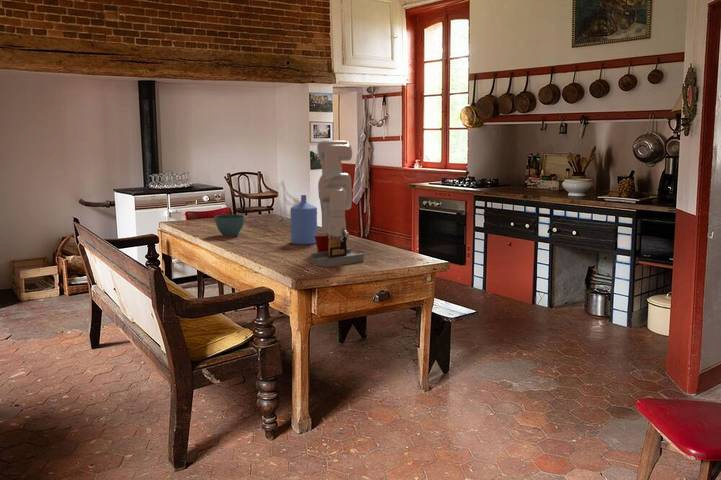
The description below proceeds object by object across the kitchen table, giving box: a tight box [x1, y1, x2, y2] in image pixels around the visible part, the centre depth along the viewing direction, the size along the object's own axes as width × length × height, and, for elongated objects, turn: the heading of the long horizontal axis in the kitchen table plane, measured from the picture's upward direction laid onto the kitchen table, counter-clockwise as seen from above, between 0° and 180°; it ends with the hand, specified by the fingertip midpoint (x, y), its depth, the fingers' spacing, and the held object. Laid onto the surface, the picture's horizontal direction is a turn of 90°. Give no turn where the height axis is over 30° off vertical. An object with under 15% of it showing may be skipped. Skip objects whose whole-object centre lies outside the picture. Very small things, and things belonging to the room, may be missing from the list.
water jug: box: [290, 194, 318, 245], centre depth 386 cm, size 16×16×28 cm
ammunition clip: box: [328, 234, 348, 258], centre depth 330 cm, size 11×2×12 cm, turn 128°
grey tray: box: [310, 247, 365, 268], centre depth 331 cm, size 12×24×5 cm, turn 128°
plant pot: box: [214, 214, 245, 238], centre depth 411 cm, size 18×18×12 cm
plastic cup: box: [314, 232, 329, 253], centre depth 348 cm, size 11×11×12 cm
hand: (337, 247), depth 330 cm, fingers open, 9 cm apart
